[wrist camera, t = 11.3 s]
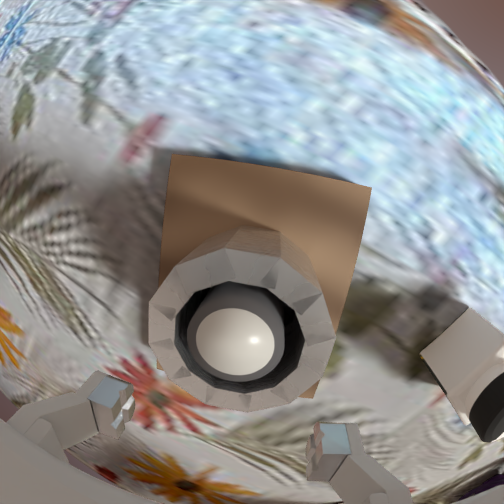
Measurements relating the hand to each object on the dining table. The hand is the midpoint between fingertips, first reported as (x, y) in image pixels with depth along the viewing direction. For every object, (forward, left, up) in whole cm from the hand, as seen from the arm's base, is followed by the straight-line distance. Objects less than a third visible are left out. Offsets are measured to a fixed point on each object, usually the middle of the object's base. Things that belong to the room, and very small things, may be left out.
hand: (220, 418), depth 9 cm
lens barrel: (0, 0, -12) cm, 12 cm away
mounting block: (0, 0, -15) cm, 15 cm away
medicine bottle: (-4, -22, -15) cm, 27 cm away
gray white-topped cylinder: (0, 0, -11) cm, 11 cm away
